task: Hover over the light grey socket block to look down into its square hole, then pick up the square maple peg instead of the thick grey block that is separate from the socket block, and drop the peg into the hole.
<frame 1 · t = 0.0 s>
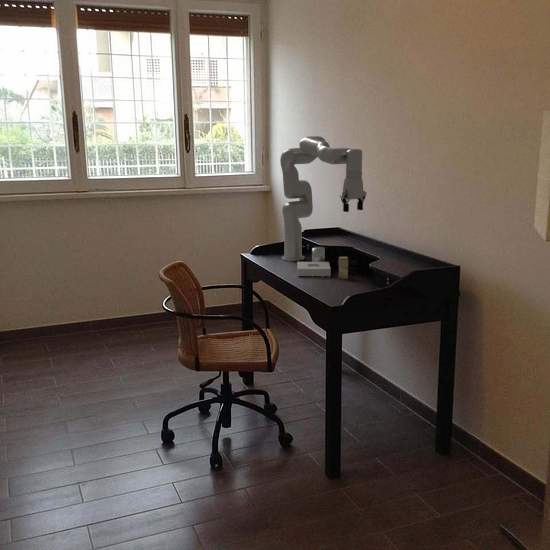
hand: (353, 210, 308), 31 cm above the table, tool pointing down, fingers open, 9 cm apart
end cap: (346, 272, 318), on the table
square peg: (343, 277, 306), on the table
grey block: (318, 266, 329), on the table
socket block: (313, 273, 316), on the table
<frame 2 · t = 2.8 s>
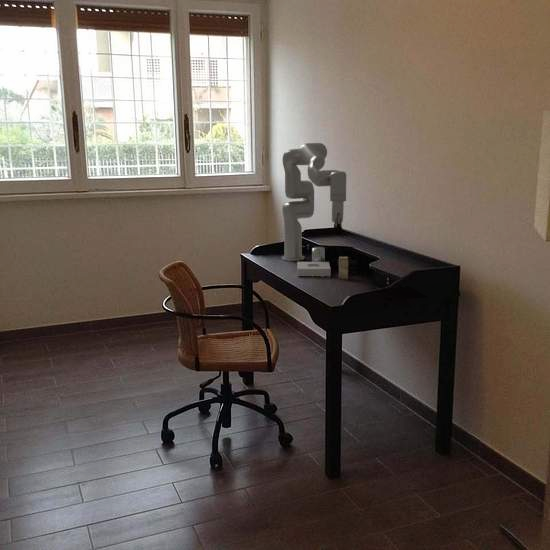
hand: (337, 233, 302), 21 cm above the table, tool pointing down, fingers open, 9 cm apart
nothing on the table moved.
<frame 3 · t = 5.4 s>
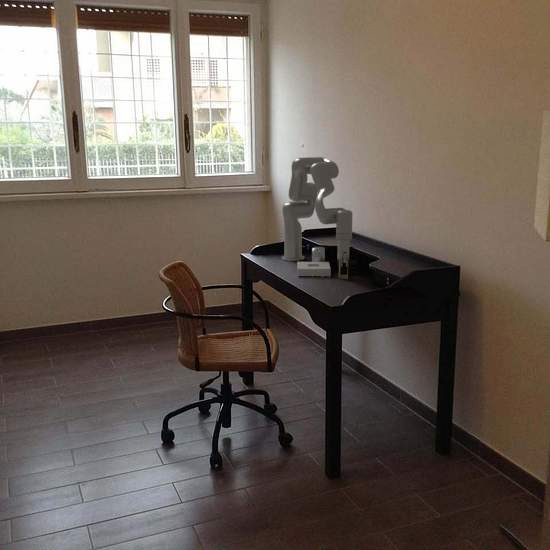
hand: (343, 273, 305), 2 cm above the table, tool pointing down, fingers closed on square peg, 4 cm apart
square peg: (343, 277, 306), on the table, touching gripper
everything else where it was.
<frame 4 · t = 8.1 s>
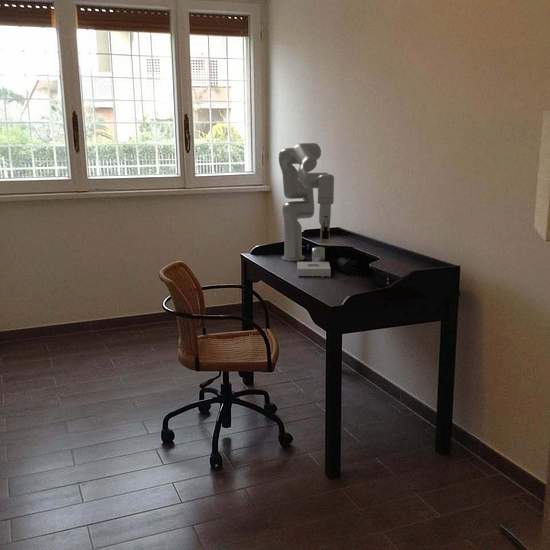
hand: (324, 237, 308), 19 cm above the table, tool pointing down, fingers closed on square peg, 4 cm apart
square peg: (324, 242, 308), point 16 cm above the table, touching gripper
everything else where it was.
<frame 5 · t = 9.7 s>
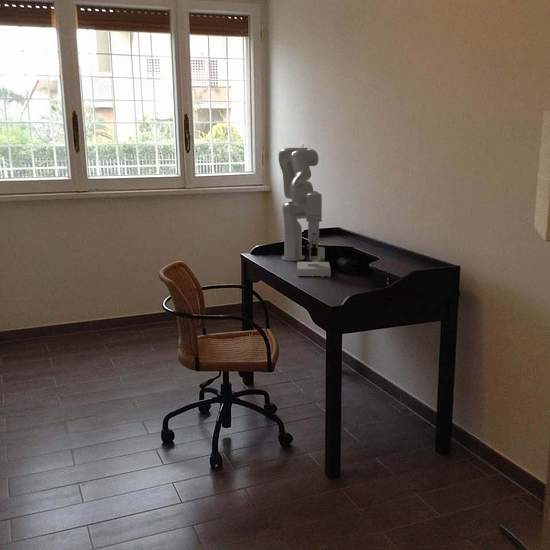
hand: (313, 254, 313), 9 cm above the table, tool pointing down, fingers closed on square peg, 4 cm apart
square peg: (313, 259, 314), point 7 cm above the table, touching gripper
everything else where it was.
when the fingers open (5 cm above the table, at t = 10.9 s): square peg drops 3 cm, resting in socket block.
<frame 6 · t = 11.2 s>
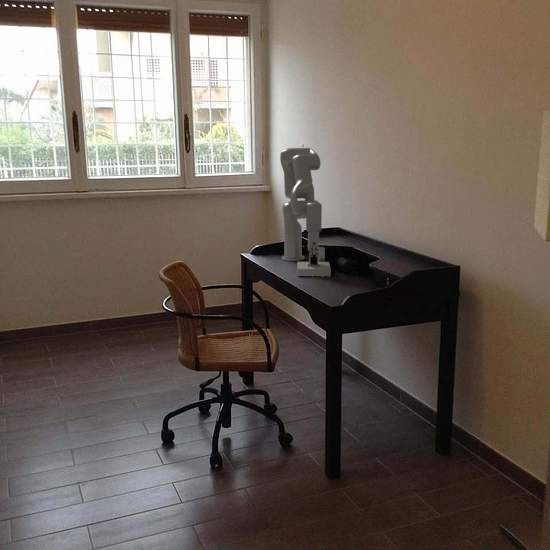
hand: (313, 262, 315), 5 cm above the table, tool pointing down, fingers open, 7 cm apart
square peg: (313, 273, 316), resting in socket block
everything else where it was.
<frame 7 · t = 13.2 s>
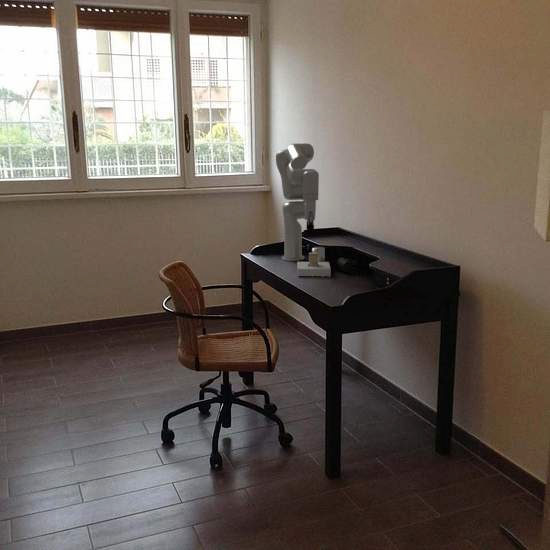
hand: (310, 231, 313), 21 cm above the table, tool pointing down, fingers open, 9 cm apart
nothing on the table moved.
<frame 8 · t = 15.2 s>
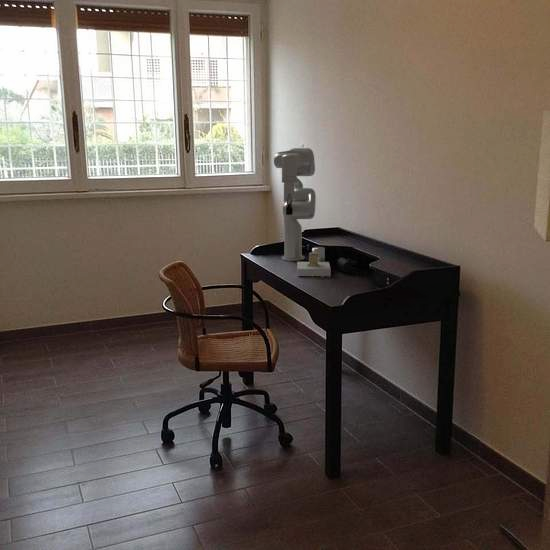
hand: (289, 213, 321), 28 cm above the table, tool pointing down, fingers open, 9 cm apart
nothing on the table moved.
at the end: square peg 0.2 cm off-centre on the socket block, point 0.0 cm above the socket block's base; square peg tilted 0°; grey block moved 0.0 cm from its start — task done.
